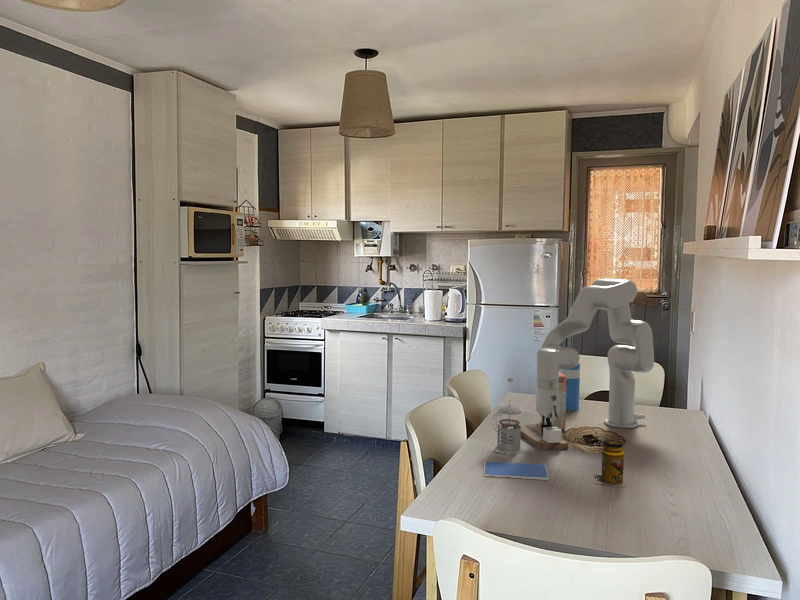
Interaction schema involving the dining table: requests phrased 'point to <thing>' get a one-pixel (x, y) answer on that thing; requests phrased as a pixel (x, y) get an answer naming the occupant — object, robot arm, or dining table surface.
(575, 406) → the water bottle
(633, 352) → the robot arm
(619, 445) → the condiment
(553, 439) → the fader knob
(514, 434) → the french press
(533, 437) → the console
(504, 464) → the tablet computer
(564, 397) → the cracker box
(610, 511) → the dining table surface
